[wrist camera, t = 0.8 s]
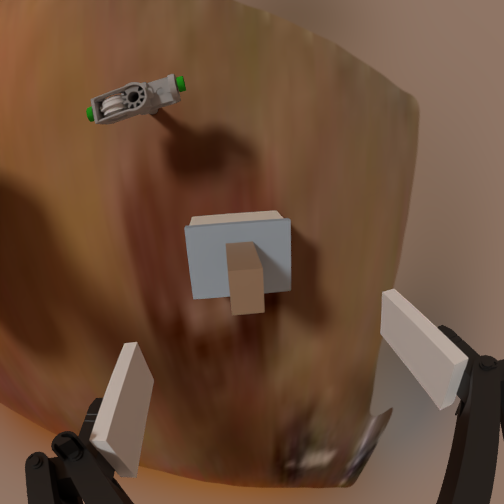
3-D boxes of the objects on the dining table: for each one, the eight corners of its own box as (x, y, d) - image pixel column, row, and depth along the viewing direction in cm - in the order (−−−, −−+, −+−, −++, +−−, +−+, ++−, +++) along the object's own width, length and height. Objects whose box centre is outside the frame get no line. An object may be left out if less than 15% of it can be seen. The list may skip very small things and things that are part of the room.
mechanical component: (193, 108, 35) (186, 94, 26) (118, 131, 35) (88, 127, 26) (189, 87, 34) (180, 67, 25) (113, 110, 34) (83, 100, 25)
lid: (194, 292, 38) (188, 337, 28) (186, 224, 35) (175, 252, 26) (287, 284, 39) (308, 325, 29) (287, 216, 36) (311, 241, 27)
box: (198, 273, 42) (196, 293, 37) (192, 216, 40) (188, 228, 34) (277, 267, 43) (286, 285, 38) (276, 210, 41) (286, 220, 35)
